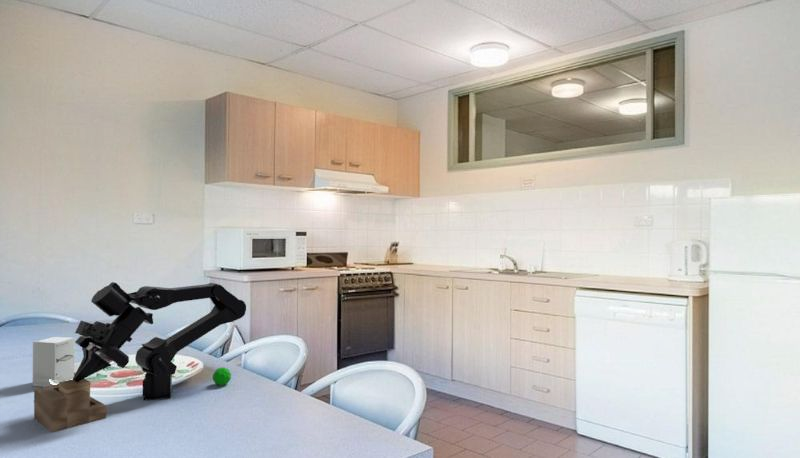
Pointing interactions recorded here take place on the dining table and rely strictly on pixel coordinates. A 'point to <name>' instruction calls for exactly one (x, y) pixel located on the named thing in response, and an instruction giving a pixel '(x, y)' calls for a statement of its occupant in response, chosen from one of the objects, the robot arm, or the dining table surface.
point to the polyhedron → (221, 376)
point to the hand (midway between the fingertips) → (74, 380)
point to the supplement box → (53, 360)
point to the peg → (74, 386)
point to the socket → (65, 408)
